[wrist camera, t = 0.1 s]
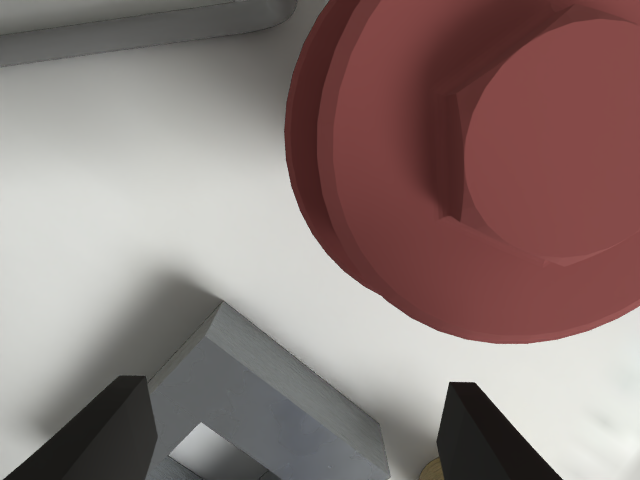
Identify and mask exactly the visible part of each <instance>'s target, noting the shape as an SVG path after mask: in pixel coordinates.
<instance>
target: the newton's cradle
mask: <svg viewBox="0 0 640 480" xmlns="http://www.w3.org/2000/svg"><path fill="white" fill-rule="evenodd" d="M296 4H297V0H245V1H244V0H234V2H233V3H226V4H219V5H212V6H204V7H197V8H190V9H183V10H176V11H169V12H162V13H155V14H148V15H141V16H134V17H127V18H120V19H113V20H106V21H99V22H92V23H85V24H77V25H70V26H63V27H56V28H49V29H42V30H35V31H28V32H21V33H14V34H7V35H0V67H4V66H11V65H18V64H25V63H32V62H40V61H47V60H54V59H61V58H68V57H75V56H83V55H90V54H97V53H104V52H111V51H118V50H126V49H133V48H140V47H147V46H154V45H161V44H168V43H176V42H183V41H190V40H197V39H204V38H211V37H219V36H226V35H233V34H240V33H247V32H252V31H258V30H262V29H266V28H269V27H272V26H275V25H277V24H280V23H282V22H283V21H285V20H286V19H288V18H289V17H290V16H291V15H292V14H293V12H294V10H295V7H296Z"/></svg>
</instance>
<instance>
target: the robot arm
mask: <svg viewBox="0 0 640 480" xmlns="http://www.w3.org/2000/svg"><path fill="white" fill-rule="evenodd" d="M157 439H158V434H157V430H156V425H155V420H154V415H153V410H152V405H151V400H150V395H149V390H148V386H147V381H146V376H119V377H118V378H116V379H115V380H114V381H113V382H112V383H111V384H110V385H109V386H108V387H106V388H105V389H104V390H103V391H102V392H101V393H100V394H99V395H98V396H97V397H95V398H94V399H93V400H92V401H91V402H90V403H89V404H88V405H87V406H86V407H85V408H84V409H82V410H81V411H80V412H79V413H78V414H77V415H76V416H75V417H74V418H73V419H72V420H71V421H69V422H68V423H67V424H66V425H65V426H64V427H63V428H62V429H61V430H59V431H58V432H57V433H56V434H55V435H54V436H53V437H52V438H51V439H49V440H48V441H47V442H46V443H45V444H44V445H43V446H42V447H40V448H39V449H38V450H37V451H36V452H35V453H34V454H33V455H31V456H30V457H29V458H28V459H27V460H26V461H25V462H23V463H22V464H21V465H20V466H19V467H17V468H16V469H15V470H14V471H13V472H11V473H10V474H9V475H8V476H7V477H5V478H4V479H3V480H145V478H146V475H147V472H148V469H149V466H150V463H151V459H152V456H153V452H154V449H155V445H156V442H157ZM437 447H438V452H439V457H440V462H441V467H442V472H443V476H444V480H563V479H562V478H561V477H560V476H559V475H558V474H557V473H556V472H555V471H554V470H553V469H552V468H551V467H550V466H549V464H548V463H547V462H546V461H545V460H544V459H543V458H542V457H541V456H540V455H539V454H538V453H537V452H536V451H535V450H534V448H533V447H532V446H531V445H530V444H529V443H528V442H527V441H526V440H525V439H524V437H523V436H522V435H521V434H520V433H519V432H518V431H517V430H516V429H515V427H514V426H513V425H512V424H511V423H510V422H509V421H508V420H507V418H506V417H505V416H504V415H503V414H502V413H501V412H500V410H499V409H498V408H497V407H496V406H495V405H494V403H493V402H492V401H491V400H490V399H489V398H488V397H487V395H486V394H485V393H484V392H483V391H482V390H481V389H480V388H479V386H478V385H477V384H476V383H475V382H449V386H448V391H447V395H446V400H445V405H444V409H443V414H442V419H441V423H440V428H439V433H438V437H437Z"/></svg>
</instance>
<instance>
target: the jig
mask: <svg viewBox="0 0 640 480" xmlns="http://www.w3.org/2000/svg"><path fill="white" fill-rule="evenodd" d="M147 386H148V390H149V395H150V400H151V405H152V410H153V415H154V420H155V425H156V430H157V434H158V439H157V442H156V445H155V449H154V452H153V456H152V459H151V463H150V466H149V469H148V472H147V475H146V478H145V480H203V479H201V478H200V477H198V476H197V475H195V474H194V473H193V472H191V471H190V470H188V469H187V468H185V467H184V466H182V465H181V464H179V463H178V462H176V461H175V460H173V459H172V458H170V457H169V456H167V455H168V454H169V453H170V452H171V451H172V450H173V449H174V448H175V447H176V446H177V445H178V444H179V443H180V442H181V441H182V440H183V439H184V438H185V437H186V436H187V435H188V434H189V433H190V432H191V431H192V430H193V429H194V428H195V427H196V426H197V425H198V424H199V423H200V422H202V423H203V424H205V425H206V426H208V427H209V428H211V429H212V430H213V431H215V432H216V433H218V434H219V435H220V436H222V437H223V438H225V439H226V440H227V441H229V442H230V443H232V444H233V445H235V446H236V447H237V448H239V449H240V450H242V451H243V452H244V453H246V454H247V455H249V456H250V457H251V458H253V459H254V460H256V461H257V462H259V463H260V464H261V465H263V466H264V467H266V468H267V469H268V471H267V472H266V473H265V474H264V475H263V476H262V477H261V478H260V479H259V480H388V479H389V478H390V477H391V476H390V471H389V467H388V462H387V457H386V452H385V448H384V443H383V438H382V433H381V429H380V424H379V423H377V422H376V421H375V420H374V419H372V418H371V417H370V416H369V415H367V414H366V413H365V412H363V411H362V410H361V409H360V408H358V407H357V406H356V405H355V404H353V403H352V402H351V401H350V400H348V399H347V398H346V397H344V396H343V395H342V394H341V393H339V392H338V391H337V390H336V389H334V388H333V387H332V386H331V385H329V384H328V383H327V382H325V381H324V380H323V379H322V378H320V377H319V376H318V375H317V374H315V373H314V372H313V371H312V370H310V369H309V368H308V367H306V366H305V365H304V364H303V363H301V362H300V361H299V360H298V359H296V358H295V357H294V356H293V355H291V354H290V353H289V352H288V351H286V350H285V349H284V348H282V347H281V346H280V345H279V344H277V343H276V342H275V341H274V340H272V339H271V338H270V337H269V336H267V335H266V334H265V333H263V332H262V331H261V330H260V329H258V328H257V327H256V326H255V325H253V324H252V323H251V322H250V321H248V320H247V319H246V318H244V317H243V316H242V315H241V314H239V313H238V312H237V311H236V310H234V309H233V308H232V307H231V306H229V305H228V304H227V303H226V302H224V301H223V302H222V303H221V304H220V305H219V306H218V307H217V308H216V309H215V311H214V312H213V313H212V314H211V315H210V316H209V317H208V318H207V319H206V320H205V321H204V322H203V324H202V325H201V326H200V327H199V328H198V329H197V330H196V331H195V332H194V333H193V334H192V335H191V337H190V338H189V339H188V340H187V341H186V342H185V343H184V344H183V345H182V346H181V347H180V348H179V350H178V351H177V352H176V353H175V354H174V355H173V356H172V357H171V358H170V359H169V360H168V362H167V363H166V364H165V365H164V366H163V367H162V368H161V369H160V370H159V371H158V372H157V373H156V375H155V376H154V377H153V378H152V379H151V380H150V381H149V382H148V383H147Z"/></svg>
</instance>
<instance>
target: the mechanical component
mask: <svg viewBox="0 0 640 480" xmlns="http://www.w3.org/2000/svg"><path fill="white" fill-rule="evenodd" d="M284 135H285V151H286V162H287V167H288V172H289V177H290V182H291V186H292V189H293V192H294V195H295V198H296V200H297V203H298V206H299V209H300V211H301V213H302V215H303V217H304V219H305V221H306V223H307V225H308V227H309V228H310V230H311V232H312V234H313V235H314V237H315V238H316V239H317V241H318V242H319V244H320V245H321V246H322V248H323V249H324V250H325V252H326V253H327V254H328V255H329V256H330V257H331V258H332V259H333V260H334V261H335V263H336V264H337V265H338V266H339V267H340V268H341V269H342V270H343V271H344V272H346V273H347V274H348V275H350V276H351V277H352V278H354V279H355V280H356V281H358V282H359V283H360V284H362V285H363V286H365V287H366V288H368V289H370V290H372V291H374V292H375V293H377V294H379V295H381V296H382V297H383V298H384V299H385V300H387V301H388V302H389V303H391V304H392V305H393V306H395V307H396V308H398V309H399V310H401V311H402V312H404V313H405V314H406V315H408V316H409V317H411V318H412V319H415V320H417V321H419V322H421V323H423V324H425V325H427V326H429V327H431V328H433V329H435V330H437V331H440V332H444V333H447V334H450V335H454V336H457V337H460V338H463V339H467V340H474V341H481V342H488V343H495V344H528V343H535V342H543V341H550V340H557V339H561V338H564V337H568V336H572V335H575V334H579V333H583V332H586V331H589V330H592V329H594V328H596V327H599V326H601V325H603V324H606V323H608V322H611V321H613V320H615V319H618V318H620V317H621V316H623V315H625V314H627V313H628V312H630V311H632V310H634V309H635V308H637V307H639V306H640V0H330V1H329V2H328V3H327V5H326V6H325V8H324V9H323V10H322V12H321V13H320V15H319V16H318V18H317V20H316V22H315V23H314V25H313V27H312V29H311V31H310V33H309V35H308V37H307V39H306V40H305V42H304V44H303V47H302V50H301V52H300V55H299V58H298V61H297V63H296V66H295V69H294V72H293V75H292V80H291V84H290V89H289V94H288V98H287V103H286V116H285V129H284Z"/></svg>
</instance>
